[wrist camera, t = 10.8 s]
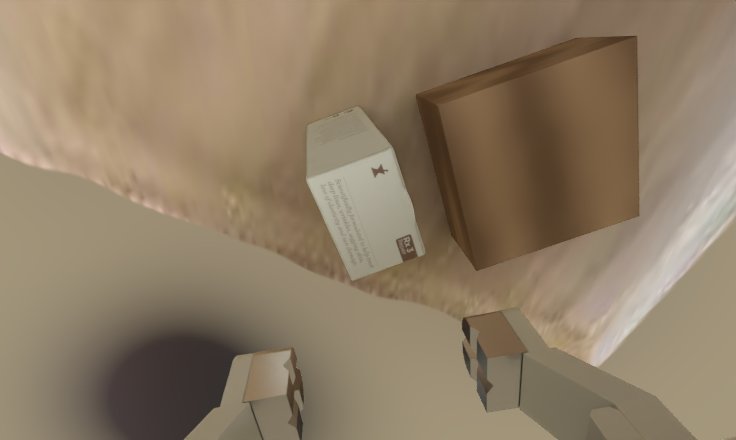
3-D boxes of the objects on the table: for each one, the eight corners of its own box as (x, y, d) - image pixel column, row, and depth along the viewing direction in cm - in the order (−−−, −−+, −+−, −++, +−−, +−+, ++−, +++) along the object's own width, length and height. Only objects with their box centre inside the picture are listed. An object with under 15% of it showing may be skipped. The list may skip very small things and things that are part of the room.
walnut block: (574, 37, 28) (637, 35, 22) (585, 187, 33) (639, 215, 27) (414, 94, 28) (438, 105, 22) (450, 233, 33) (476, 270, 28)
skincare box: (303, 124, 28) (294, 176, 17) (362, 102, 27) (392, 140, 16) (335, 200, 30) (344, 287, 19) (389, 180, 30) (429, 256, 19)
